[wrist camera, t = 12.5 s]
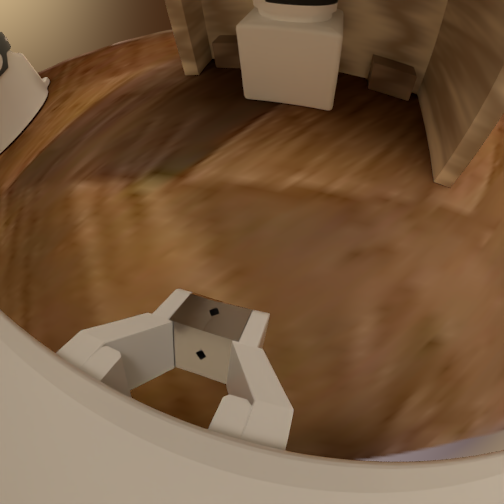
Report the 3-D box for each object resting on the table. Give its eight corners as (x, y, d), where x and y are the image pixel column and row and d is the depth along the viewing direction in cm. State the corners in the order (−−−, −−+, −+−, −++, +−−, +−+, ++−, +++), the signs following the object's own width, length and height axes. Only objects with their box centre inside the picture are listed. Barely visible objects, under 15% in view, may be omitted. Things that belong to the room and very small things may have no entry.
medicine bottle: (336, 71, 22) (347, -38, 11) (331, 113, 19) (350, -29, 8) (263, 61, 23) (255, -45, 12) (243, 100, 20) (225, -35, 9)
